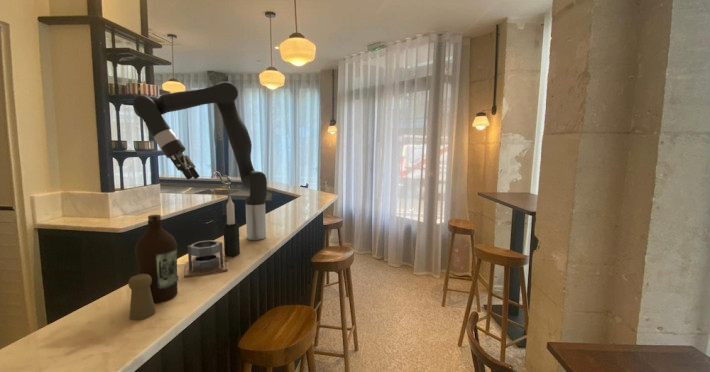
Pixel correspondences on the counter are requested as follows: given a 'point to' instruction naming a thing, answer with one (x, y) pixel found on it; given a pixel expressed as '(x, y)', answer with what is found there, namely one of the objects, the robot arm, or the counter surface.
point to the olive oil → (158, 260)
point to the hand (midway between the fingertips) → (194, 178)
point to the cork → (141, 297)
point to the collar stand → (205, 258)
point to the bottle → (231, 232)
